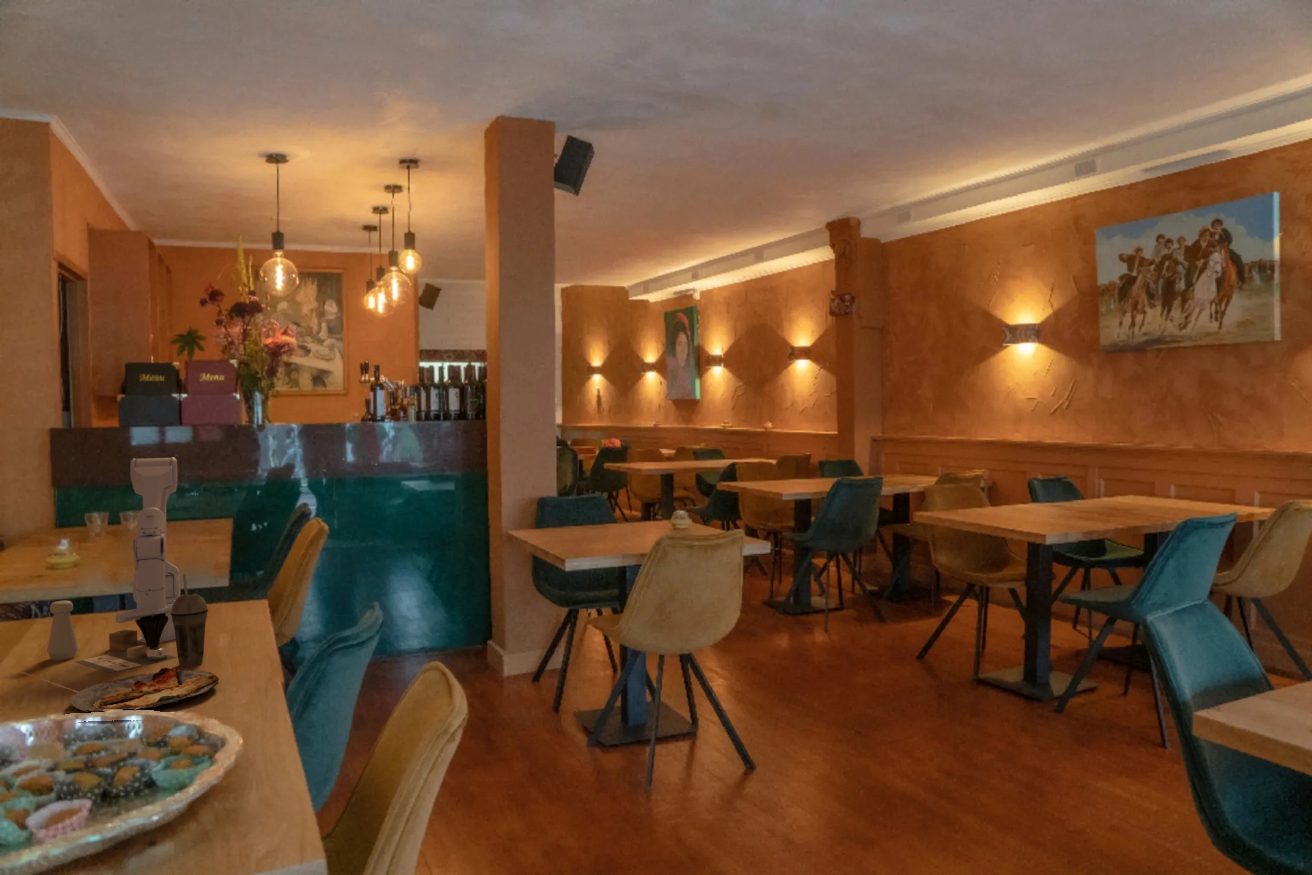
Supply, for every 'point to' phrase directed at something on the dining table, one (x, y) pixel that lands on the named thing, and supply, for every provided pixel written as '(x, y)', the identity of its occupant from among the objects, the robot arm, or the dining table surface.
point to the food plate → (146, 689)
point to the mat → (117, 662)
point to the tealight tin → (156, 654)
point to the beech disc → (137, 652)
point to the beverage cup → (189, 627)
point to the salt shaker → (62, 632)
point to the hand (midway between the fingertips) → (152, 648)
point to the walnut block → (123, 640)
